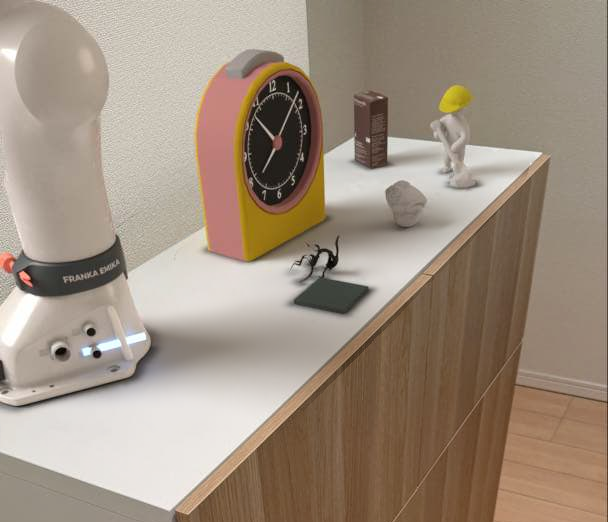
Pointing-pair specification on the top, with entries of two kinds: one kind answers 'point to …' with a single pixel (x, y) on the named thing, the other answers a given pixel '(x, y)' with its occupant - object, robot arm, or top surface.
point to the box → (371, 128)
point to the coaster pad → (331, 295)
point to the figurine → (454, 134)
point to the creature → (330, 263)
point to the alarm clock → (259, 155)
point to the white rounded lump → (405, 203)
